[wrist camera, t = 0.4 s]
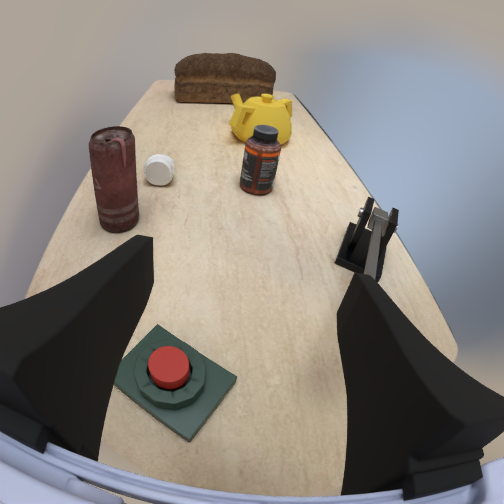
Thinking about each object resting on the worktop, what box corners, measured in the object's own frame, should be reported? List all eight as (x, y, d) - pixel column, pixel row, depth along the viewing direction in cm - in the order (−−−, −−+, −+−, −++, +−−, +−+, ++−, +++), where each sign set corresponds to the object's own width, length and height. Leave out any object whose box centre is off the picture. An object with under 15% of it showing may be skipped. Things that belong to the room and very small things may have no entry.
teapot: (253, 116, 84) (260, 80, 77) (306, 140, 77) (316, 101, 69) (198, 129, 72) (202, 86, 65) (253, 158, 65) (262, 109, 57)
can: (119, 240, 41) (108, 148, 32) (92, 222, 43) (79, 136, 34) (148, 219, 46) (145, 131, 36) (121, 203, 47) (115, 121, 38)
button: (197, 369, 28) (197, 360, 26) (173, 397, 25) (172, 390, 24) (166, 348, 29) (165, 338, 27) (142, 373, 26) (139, 365, 25)
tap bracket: (377, 282, 43) (402, 239, 38) (334, 263, 45) (354, 217, 39) (385, 243, 50) (405, 204, 45) (347, 227, 52) (364, 186, 46)
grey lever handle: (362, 367, 23) (381, 343, 22) (328, 353, 24) (344, 327, 22) (383, 229, 45) (392, 211, 43) (364, 221, 45) (372, 202, 44)
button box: (236, 381, 30) (239, 368, 28) (189, 442, 25) (188, 435, 22) (158, 329, 33) (156, 313, 31) (108, 380, 27) (101, 367, 25)
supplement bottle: (278, 188, 57) (292, 131, 49) (259, 200, 53) (271, 139, 46) (252, 174, 59) (263, 119, 52) (232, 185, 55) (240, 126, 48)
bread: (172, 91, 95) (175, 47, 84) (263, 95, 103) (271, 54, 92) (172, 104, 85) (176, 53, 74) (275, 108, 93) (284, 62, 82)
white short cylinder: (177, 170, 57) (178, 144, 53) (173, 187, 52) (174, 159, 49) (149, 169, 56) (148, 143, 52) (142, 186, 52) (141, 158, 48)
